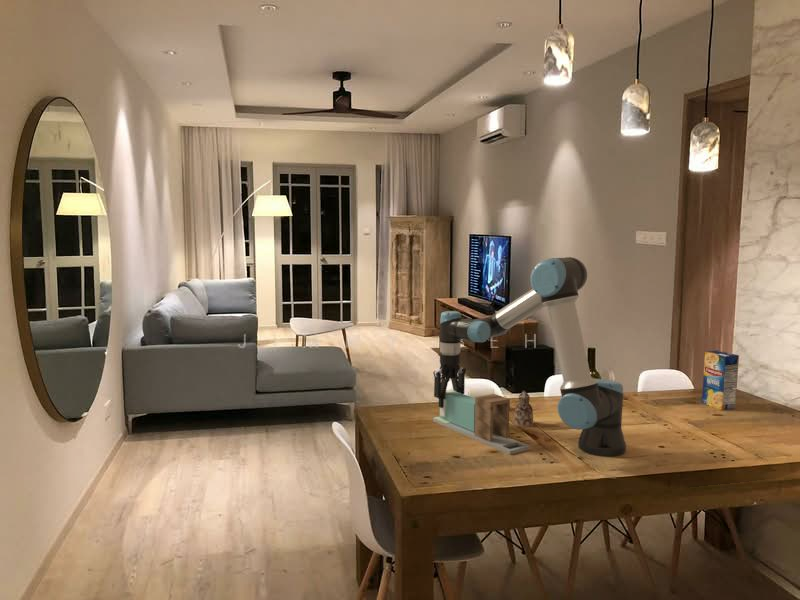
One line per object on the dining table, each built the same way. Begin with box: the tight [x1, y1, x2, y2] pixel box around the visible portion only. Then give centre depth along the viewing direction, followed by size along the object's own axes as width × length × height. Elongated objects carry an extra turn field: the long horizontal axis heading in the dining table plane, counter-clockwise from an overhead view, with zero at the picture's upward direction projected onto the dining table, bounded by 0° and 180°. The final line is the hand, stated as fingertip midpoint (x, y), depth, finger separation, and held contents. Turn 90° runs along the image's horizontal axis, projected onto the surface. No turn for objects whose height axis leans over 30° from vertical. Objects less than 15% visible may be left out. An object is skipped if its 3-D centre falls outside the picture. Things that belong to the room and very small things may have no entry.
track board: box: [432, 415, 531, 456], centre depth 234 cm, size 42×9×1 cm, turn 33°
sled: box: [439, 389, 475, 432], centre depth 241 cm, size 20×5×10 cm, turn 33°
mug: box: [467, 388, 495, 398], centre depth 269 cm, size 12×10×8 cm
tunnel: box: [475, 393, 511, 442], centre depth 227 cm, size 8×8×14 cm
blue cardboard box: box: [701, 349, 740, 411], centre depth 271 cm, size 7×11×22 cm, turn 18°
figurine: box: [513, 390, 534, 428], centre depth 246 cm, size 7×7×12 cm
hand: (449, 414), depth 248 cm, fingers closed on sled, 5 cm apart
